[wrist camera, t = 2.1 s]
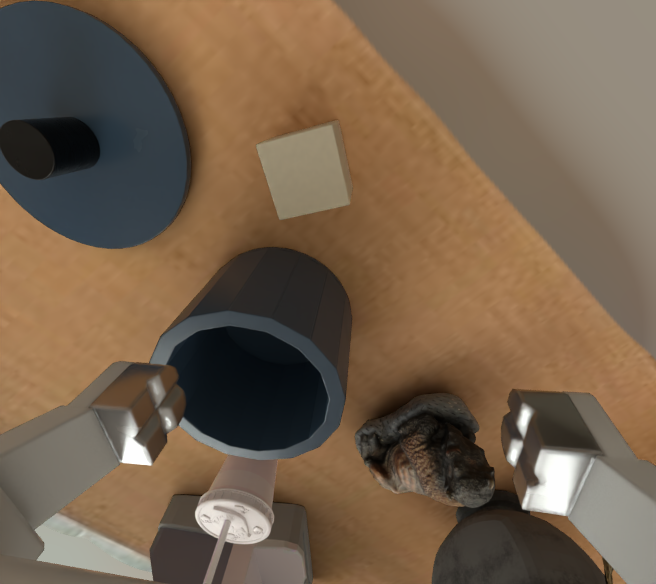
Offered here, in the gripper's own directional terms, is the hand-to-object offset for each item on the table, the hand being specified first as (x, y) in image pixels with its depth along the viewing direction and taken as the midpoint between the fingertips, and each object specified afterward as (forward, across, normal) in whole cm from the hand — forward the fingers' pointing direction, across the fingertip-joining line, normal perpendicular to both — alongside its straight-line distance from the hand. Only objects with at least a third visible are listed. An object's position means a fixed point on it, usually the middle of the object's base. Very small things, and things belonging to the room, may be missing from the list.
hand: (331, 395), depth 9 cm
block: (+18, -4, +3) cm, 19 cm away
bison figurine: (+19, +4, -20) cm, 28 cm away
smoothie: (+18, -11, -23) cm, 31 cm away
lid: (+17, -19, +5) cm, 26 cm away
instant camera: (+18, -17, -46) cm, 52 cm away
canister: (+18, -8, -9) cm, 22 cm away
